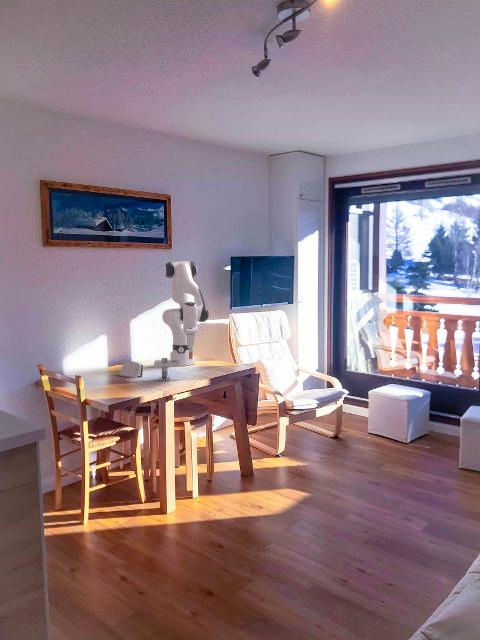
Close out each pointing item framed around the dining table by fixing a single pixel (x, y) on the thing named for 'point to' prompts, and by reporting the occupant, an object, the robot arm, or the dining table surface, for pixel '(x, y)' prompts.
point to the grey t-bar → (165, 367)
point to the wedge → (190, 355)
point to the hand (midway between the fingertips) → (190, 351)
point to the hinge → (132, 369)
